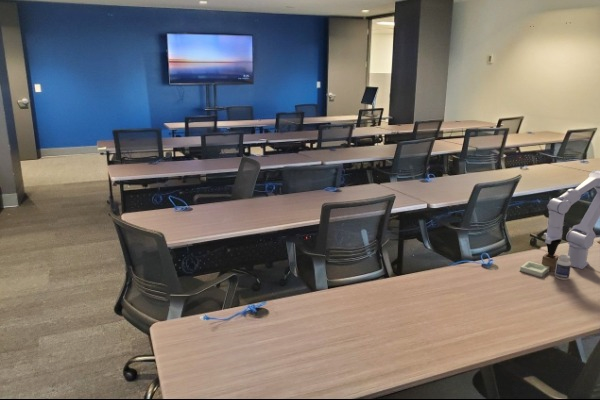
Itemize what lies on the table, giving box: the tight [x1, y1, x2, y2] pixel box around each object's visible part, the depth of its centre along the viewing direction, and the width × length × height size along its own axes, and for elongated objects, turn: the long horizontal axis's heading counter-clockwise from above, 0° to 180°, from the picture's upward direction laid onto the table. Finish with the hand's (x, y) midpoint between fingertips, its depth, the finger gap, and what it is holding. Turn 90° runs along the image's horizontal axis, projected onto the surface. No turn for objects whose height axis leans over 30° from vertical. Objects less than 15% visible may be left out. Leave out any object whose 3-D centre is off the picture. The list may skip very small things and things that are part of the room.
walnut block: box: [541, 252, 560, 273], centre depth 204 cm, size 5×5×6 cm
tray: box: [519, 260, 550, 278], centre depth 201 cm, size 9×9×2 cm
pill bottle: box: [554, 254, 572, 281], centre depth 194 cm, size 5×5×10 cm
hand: (551, 254), depth 202 cm, fingers closed
